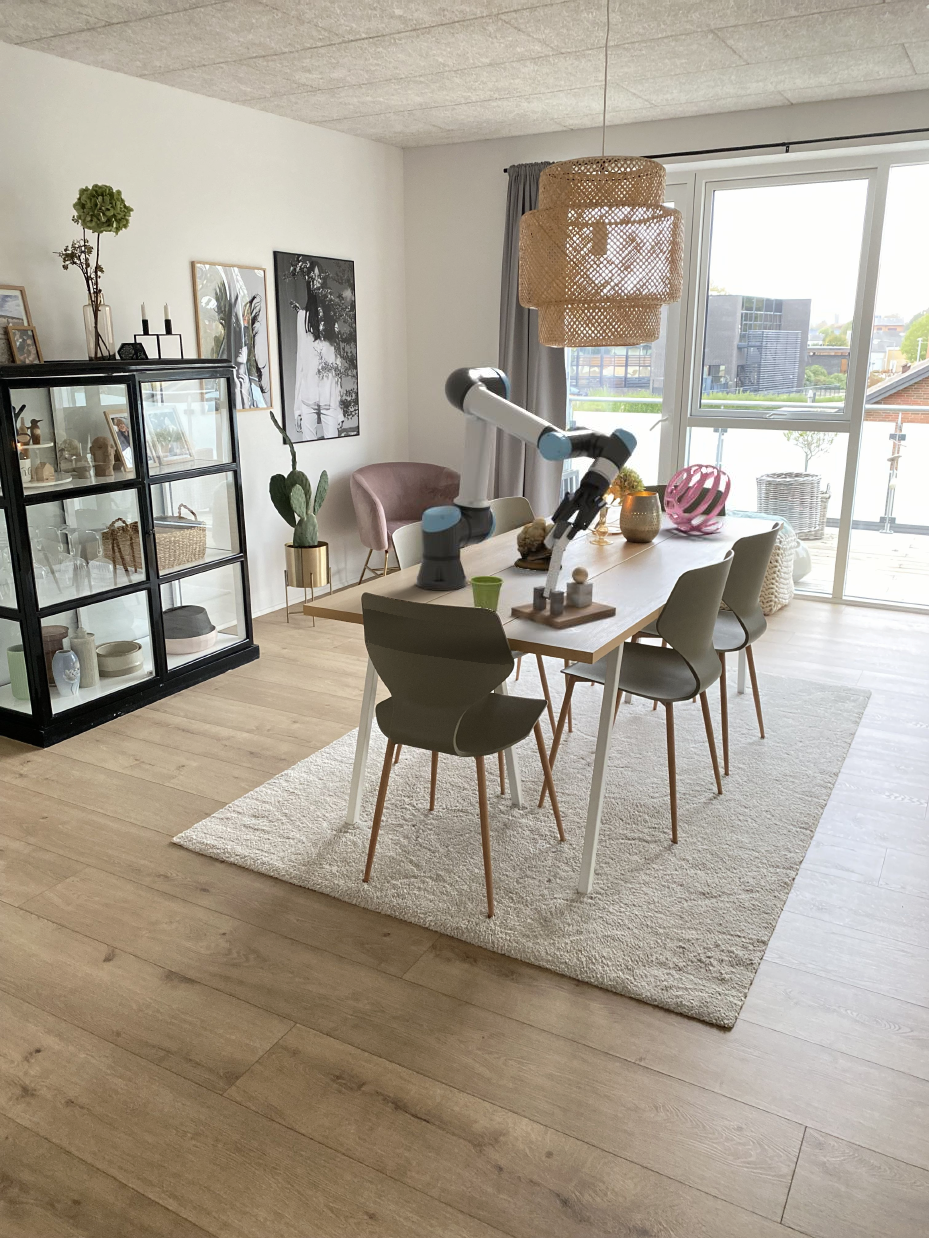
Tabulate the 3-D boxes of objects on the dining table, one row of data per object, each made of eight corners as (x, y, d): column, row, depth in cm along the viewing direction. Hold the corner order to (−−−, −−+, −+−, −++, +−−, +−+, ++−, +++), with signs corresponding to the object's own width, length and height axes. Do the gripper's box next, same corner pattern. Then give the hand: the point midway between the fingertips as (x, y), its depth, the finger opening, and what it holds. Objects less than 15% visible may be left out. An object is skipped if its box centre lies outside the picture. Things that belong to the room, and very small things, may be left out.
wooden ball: (568, 582, 258) (568, 566, 257) (579, 580, 261) (579, 564, 260) (580, 585, 255) (580, 569, 254) (591, 583, 258) (591, 567, 256)
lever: (537, 597, 251) (554, 518, 249) (547, 598, 254) (564, 521, 252) (548, 600, 248) (565, 520, 246) (558, 601, 251) (575, 523, 249)
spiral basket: (738, 478, 386) (689, 441, 377) (760, 504, 362) (709, 466, 353) (691, 529, 397) (643, 495, 387) (710, 558, 372) (660, 522, 363)
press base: (511, 614, 256) (511, 586, 254) (567, 601, 270) (568, 574, 268) (558, 629, 243) (559, 599, 241) (615, 614, 256) (617, 586, 254)
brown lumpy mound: (571, 567, 314) (573, 516, 310) (556, 574, 305) (558, 522, 300) (523, 560, 323) (524, 511, 318) (507, 567, 313) (507, 516, 309)
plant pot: (502, 605, 265) (502, 575, 263) (504, 614, 256) (504, 583, 254) (468, 605, 265) (468, 575, 263) (469, 614, 256) (470, 583, 254)
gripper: (629, 491, 250) (583, 560, 244) (581, 484, 263) (537, 550, 257) (616, 472, 245) (570, 542, 239) (569, 466, 258) (523, 533, 252)
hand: (553, 546), depth 248 cm, fingers closed on lever, 4 cm apart
